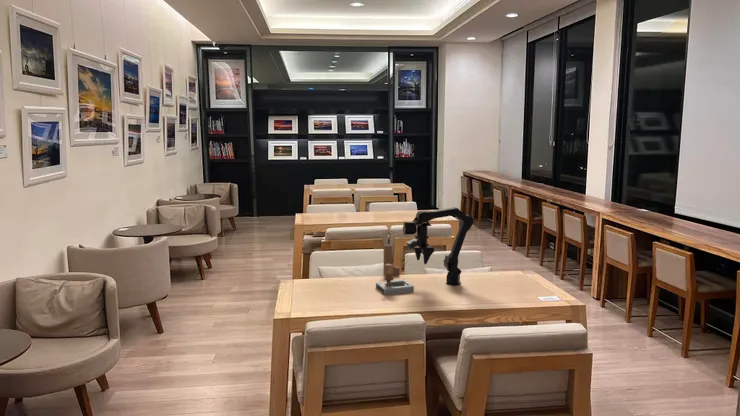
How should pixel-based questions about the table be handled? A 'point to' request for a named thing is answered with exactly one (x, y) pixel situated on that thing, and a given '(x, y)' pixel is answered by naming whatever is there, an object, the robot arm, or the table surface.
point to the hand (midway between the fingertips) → (421, 262)
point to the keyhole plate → (393, 288)
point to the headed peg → (388, 273)
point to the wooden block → (390, 259)
